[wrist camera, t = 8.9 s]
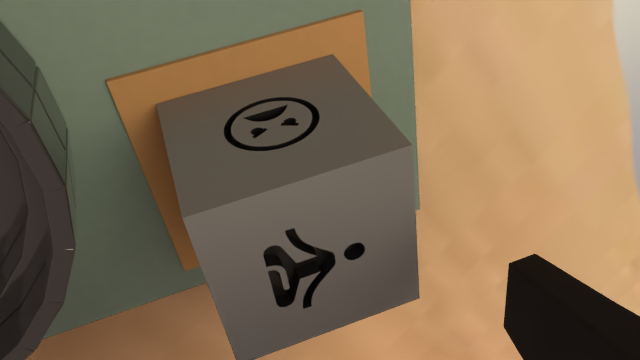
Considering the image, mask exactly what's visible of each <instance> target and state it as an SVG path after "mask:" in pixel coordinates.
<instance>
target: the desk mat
mask: <svg viewBox="0 0 640 360" xmlns="http://www.w3.org/2000/svg"><path fill="white" fill-rule="evenodd" d="M0 21H1V22H2V24H3V25H4V26H5V27H6V28H7V29H8V31H9V32H10V33H11V34H12V35H13V36H14V38H15V39H16V40H17V41H18V42H19V43H20V45H21V46H22V47H23V48H24V49H25V50H26V52H27V53H28V54H29V55H30V56H31V57H32V58H33V60H34V61H35V63H36V66H38V67H39V68H40V70H41V72H42V74H43V76H44V78H45V80H46V83H47V85H48V87H49V89H50V91H51V93H52V95H53V97H54V99H55V101H56V103H57V105H58V107H59V109H60V111H61V113H62V115H63V117H64V120H65V122H66V127H67V129H68V130H69V137H70V144H71V151H72V157H73V164H74V171H75V178H76V251H75V256H74V261H73V265H72V270H71V275H70V280H69V285H68V289H67V294H66V299H65V301H64V304H63V306H62V308H61V309H60V311H59V312H58V314H57V316H56V317H55V319H54V321H53V322H52V324H51V326H50V327H49V329H48V330H47V332H46V334H45V335H44V337H43V339H45V338H48V337H51V336H53V335H56V334H59V333H62V332H65V331H68V330H71V329H74V328H77V327H80V326H82V325H85V324H88V323H91V322H94V321H97V320H100V319H103V318H106V317H108V316H111V315H114V314H117V313H120V312H123V311H126V310H129V309H132V308H135V307H137V306H140V305H143V304H146V303H149V302H152V301H155V300H158V299H161V298H163V297H166V296H169V295H172V294H175V293H178V292H181V291H184V290H187V289H190V288H192V287H195V286H198V285H201V284H204V283H207V282H206V279H205V276H204V274H203V271H202V269H201V266H200V263H199V261H198V258H197V255H196V253H195V250H194V248H193V245H192V242H191V240H190V237H189V234H188V232H187V229H186V226H185V224H184V221H183V219H182V214H181V210H180V206H179V201H178V197H177V193H176V188H175V184H174V180H173V175H172V171H171V167H170V162H169V158H168V154H167V149H166V145H165V141H164V136H163V132H162V128H161V123H160V119H159V115H158V110H157V106H156V104H157V103H161V102H164V101H168V100H172V99H175V98H179V97H182V96H186V95H189V94H193V93H196V92H200V91H203V90H207V89H211V88H214V87H218V86H221V85H225V84H228V83H232V82H235V81H239V80H242V79H246V78H250V77H253V76H257V75H260V74H264V73H267V72H271V71H274V70H278V69H281V68H285V67H289V66H292V65H296V64H299V63H303V62H306V61H310V60H313V59H317V58H321V57H324V56H328V55H331V54H333V55H334V56H335V57H336V58H337V59H338V60H339V61H340V63H341V64H342V65H343V66H344V67H345V68H346V69H347V71H348V72H349V73H350V74H351V75H352V76H353V77H354V79H355V80H356V81H357V82H358V83H359V84H360V85H361V87H362V88H363V89H364V90H365V91H366V92H367V93H368V95H369V96H370V97H371V98H372V99H373V100H374V102H375V103H376V104H377V105H378V106H379V107H380V108H381V110H382V111H383V112H384V113H385V114H386V115H387V116H388V118H389V119H390V120H391V121H392V122H393V123H394V124H395V126H396V127H397V128H398V129H399V130H400V131H401V132H402V134H403V135H404V136H405V137H406V138H407V139H408V140H409V142H410V143H411V144H412V148H413V169H414V191H415V210H418V209H420V202H419V180H418V158H417V137H416V115H415V93H414V71H413V49H412V27H411V6H410V0H0Z"/></svg>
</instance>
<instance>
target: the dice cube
mask: <svg viewBox="0 0 640 360" xmlns="http://www.w3.org/2000/svg"><path fill="white" fill-rule="evenodd" d="M156 106H157V110H158V115H159V119H160V123H161V128H162V132H163V136H164V141H165V145H166V149H167V154H168V158H169V162H170V167H171V171H172V175H173V180H174V184H175V188H176V193H177V197H178V201H179V206H180V210H181V214H182V219H183V221H184V224H185V226H186V229H187V232H188V234H189V237H190V240H191V242H192V245H193V248H194V250H195V253H196V255H197V258H198V261H199V263H200V266H201V269H202V271H203V274H204V276H205V279H206V282H207V284H208V287H209V290H210V292H211V295H212V297H213V300H214V303H215V305H216V308H217V311H218V313H219V316H220V319H221V321H222V324H223V326H224V329H225V332H226V334H227V337H228V340H229V342H230V345H231V347H232V350H233V353H234V355H235V358H236V360H254V359H257V358H259V357H262V356H265V355H267V354H270V353H273V352H275V351H278V350H281V349H284V348H286V347H289V346H292V345H294V344H297V343H300V342H302V341H305V340H308V339H310V338H313V337H316V336H319V335H321V334H324V333H327V332H329V331H332V330H335V329H337V328H340V327H343V326H346V325H348V324H351V323H354V322H356V321H359V320H362V319H364V318H367V317H370V316H373V315H375V314H378V313H381V312H383V311H386V310H389V309H391V308H394V307H397V306H400V305H402V304H405V303H408V302H410V301H413V300H416V299H418V298H419V278H418V256H417V235H416V213H415V191H414V169H413V148H412V144H411V143H410V142H409V140H408V139H407V138H406V137H405V136H404V135H403V134H402V132H401V131H400V130H399V129H398V128H397V127H396V126H395V124H394V123H393V122H392V121H391V120H390V119H389V118H388V116H387V115H386V114H385V113H384V112H383V111H382V110H381V108H380V107H379V106H378V105H377V104H376V103H375V102H374V100H373V99H372V98H371V97H370V96H369V95H368V93H367V92H366V91H365V90H364V89H363V88H362V87H361V85H360V84H359V83H358V82H357V81H356V80H355V79H354V77H353V76H352V75H351V74H350V73H349V72H348V71H347V69H346V68H345V67H344V66H343V65H342V64H341V63H340V61H339V60H338V59H337V58H336V57H335V56H334V55H333V54H331V55H328V56H324V57H321V58H317V59H313V60H310V61H306V62H303V63H299V64H296V65H292V66H289V67H285V68H281V69H278V70H274V71H271V72H267V73H264V74H260V75H257V76H253V77H250V78H246V79H242V80H239V81H235V82H232V83H228V84H225V85H221V86H218V87H214V88H211V89H207V90H203V91H200V92H196V93H193V94H189V95H186V96H182V97H179V98H175V99H172V100H168V101H164V102H161V103H157V104H156Z"/></svg>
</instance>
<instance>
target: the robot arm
mask: <svg viewBox="0 0 640 360" xmlns="http://www.w3.org/2000/svg"><path fill="white" fill-rule="evenodd" d="M504 328H505V330H506V331H507V333H508V335H509V336H510V338H511V340H512V341H513V343H514V345H515V347H516V348H517V350H518V352H519V353H520V355H521V356H522V358H523V360H640V316H638V315H636V314H635V313H633V312H631V311H629V310H628V309H626V308H624V307H622V306H621V305H619V304H617V303H615V302H614V301H612V300H610V299H609V298H607V297H605V296H604V295H602V294H600V293H599V292H597V291H595V290H594V289H592V288H591V287H589V286H587V285H586V284H584V283H582V282H581V281H579V280H577V279H576V278H574V277H573V276H571V275H569V274H568V273H566V272H564V271H563V270H561V269H560V268H558V267H556V266H555V265H553V264H551V263H550V262H548V261H546V260H545V259H543V258H541V257H540V256H538V255H536V254H533V255H530V256H528V257H525V258H522V259H520V260H517V261H514V262H512V263H509V270H508V282H507V293H506V305H505V317H504Z"/></svg>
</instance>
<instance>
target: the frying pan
mask: <svg viewBox="0 0 640 360" xmlns="http://www.w3.org/2000/svg"><path fill="white" fill-rule="evenodd" d="M75 251H76V178H75V171H74V164H73V157H72V151H71V144H70V137H69V130H68V129H67V127H66V122H65V120H64V117H63V115H62V113H61V111H60V109H59V107H58V105H57V103H56V101H55V99H54V97H53V95H52V93H51V91H50V89H49V87H48V85H47V83H46V80H45V78H44V76H43V74H42V72H41V70H40V68H39V67H38V66H36V63H35V61H34V60H33V58H32V57H31V56H30V55H29V54H28V53H27V52H26V50H25V49H24V48H23V47H22V46H21V45H20V43H19V42H18V41H17V40H16V39H15V38H14V36H13V35H12V34H11V33H10V32H9V31H8V29H7V28H6V27H5V26H4V25H3V24H2V22H1V21H0V360H25V359H26V358H28V357H29V356H30V355H31V354H32V353H33V352H34V350H35V349H36V348H37V347H38V345H39V344H40V342H41V340H42V339H43V337H44V335H45V334H46V332H47V330H48V329H49V327H50V326H51V324H52V322H53V321H54V319H55V317H56V316H57V314H58V312H59V311H60V309H61V308H62V306H63V304H64V301H65V299H66V294H67V289H68V285H69V280H70V275H71V270H72V265H73V261H74V256H75Z"/></svg>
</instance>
